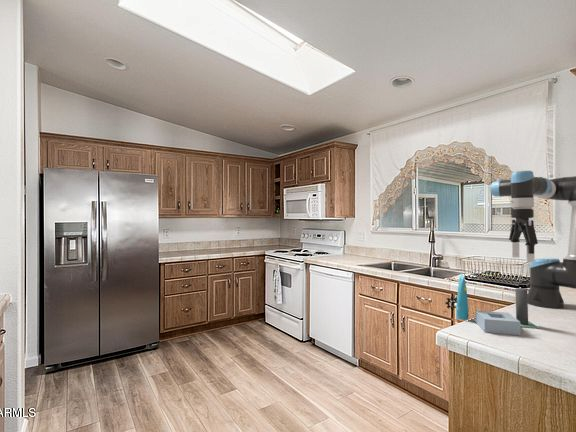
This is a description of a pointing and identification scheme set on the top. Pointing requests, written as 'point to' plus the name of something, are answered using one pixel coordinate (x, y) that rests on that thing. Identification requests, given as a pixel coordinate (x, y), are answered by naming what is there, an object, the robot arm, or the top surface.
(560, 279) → the robot arm
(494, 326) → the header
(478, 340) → the top surface
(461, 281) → the tube
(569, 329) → the top surface
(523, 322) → the plug
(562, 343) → the top surface
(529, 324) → the pad
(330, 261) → the top surface
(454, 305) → the valve
